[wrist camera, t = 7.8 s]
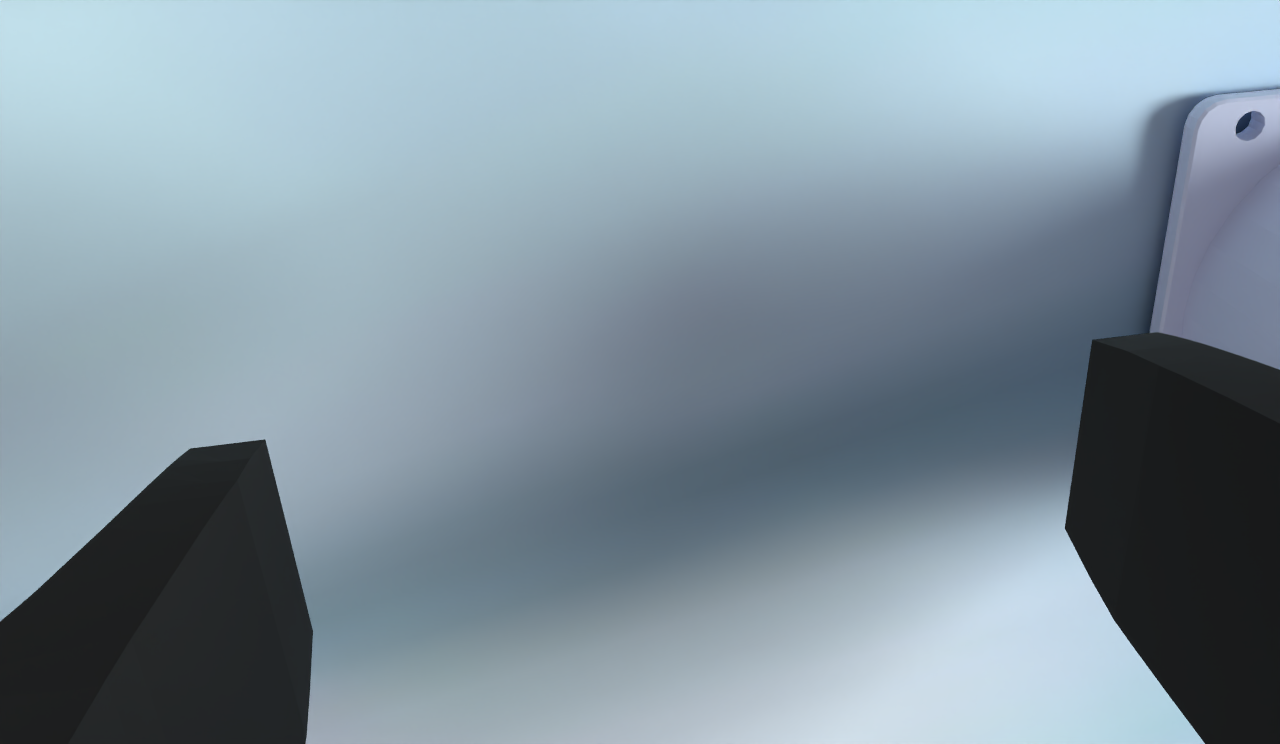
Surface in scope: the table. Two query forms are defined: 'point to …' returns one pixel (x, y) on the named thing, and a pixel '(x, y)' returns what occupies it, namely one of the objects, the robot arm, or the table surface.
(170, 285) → the table surface
